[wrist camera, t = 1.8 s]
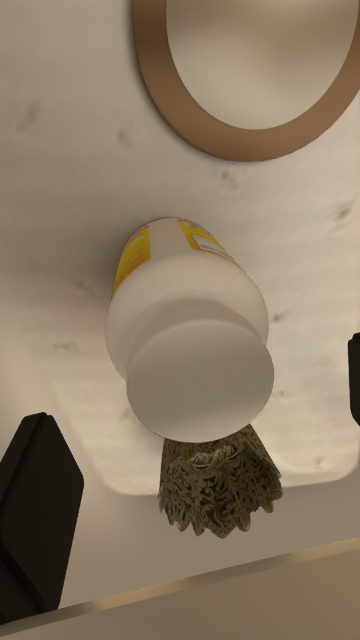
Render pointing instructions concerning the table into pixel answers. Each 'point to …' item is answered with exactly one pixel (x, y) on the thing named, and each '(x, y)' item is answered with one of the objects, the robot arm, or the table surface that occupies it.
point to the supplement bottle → (188, 334)
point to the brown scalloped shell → (217, 482)
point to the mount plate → (249, 70)
